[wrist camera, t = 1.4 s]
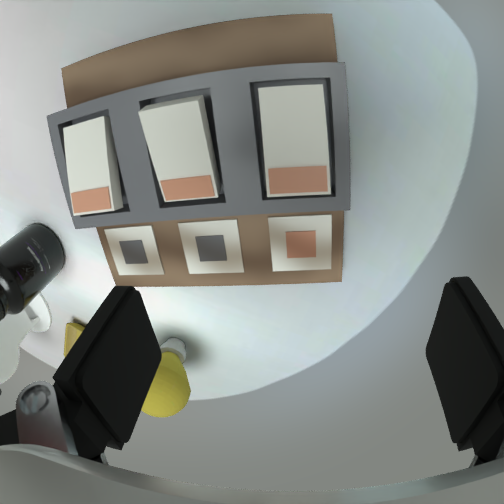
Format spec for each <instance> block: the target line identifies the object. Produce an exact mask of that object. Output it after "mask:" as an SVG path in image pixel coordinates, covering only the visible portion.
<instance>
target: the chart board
mask: <svg viewBox="0 0 504 504" xmlns="http://www.w3.org/2000/svg"><path fill="white" fill-rule="evenodd" d="M321 62H337V52H336V42H335V34H334V25H333V18H332V14H295V15H278V16H266V17H256V18H247V19H239V20H232V21H225V22H219V23H213V24H207V25H202V26H197V27H192V28H187V29H182V30H178V31H173V32H169V33H165V34H161V35H157V36H154V37H150V38H146V39H143V40H139V41H136V42H132V43H129V44H126V45H123V46H120V47H117V48H114V49H111V50H108V51H105V52H102V53H99V54H96V55H94V56H91V57H88V58H86V59H83V60H81V61H78V62H76V63H73V64H71V65H68V66H66V67H64V68H61V70H62V77H63V84H64V91H65V97H66V104H67V108H70V107H73V106H76V105H79V104H82V103H85V102H88V101H91V100H94V99H97V98H100V97H104V96H107V95H111V94H114V93H118V92H121V91H125V90H129V89H132V88H136V87H140V86H144V85H148V84H153V83H157V82H162V81H166V80H171V79H176V78H181V77H186V76H192V75H197V74H203V73H209V72H216V71H223V70H230V69H238V68H246V67H255V66H266V65H278V64H294V63H321ZM96 228H97V231H98V235H99V238H100V241H101V244H102V247H103V250H104V253H105V256H106V259H107V262H108V265H109V267H110V270H111V273H112V276H113V279H114V281H115V284H116V286H133V287H167V286H233V285H271V284H300V283H324V282H342V264H343V230H344V210H343V211H316V212H294V213H274V214H255V215H239V216H223V217H208V218H194V219H181V220H168V221H156V222H144V223H133V224H122V225H111V226H101V227H96Z"/></svg>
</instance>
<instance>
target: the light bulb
mask: <svg viewBox="0 0 504 504" xmlns="http://www.w3.org/2000/svg"><path fill="white" fill-rule="evenodd" d="M160 349H161V353H162V358H161V362H160V364H159V367H158V369H157V372H156V374H155V377H154V379H153V382H152V384H151V386H150V389H149V391H148V394H147V396H146V399H145V401H144V404H143V406H142V409H141V410H142V411H143V412H145V413H146V414H148V415H151V416H155V417H168V416H172V415H174V414H176V413H178V412H179V411H180V410H181V409H183V408H184V407H185V405H186V404H187V402H188V399H189V396H190V392H191V390H190V386H189V382H188V378H187V375H186V371H185V369H184V367H183V365H182V364H183V363H184V361H185V358H186V351H185V344H184V343H183V342H182V341H181V340H179V339H177V338H169V339H168V340H167V342H165V343H163V344H162V345H161V346H160Z"/></svg>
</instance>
